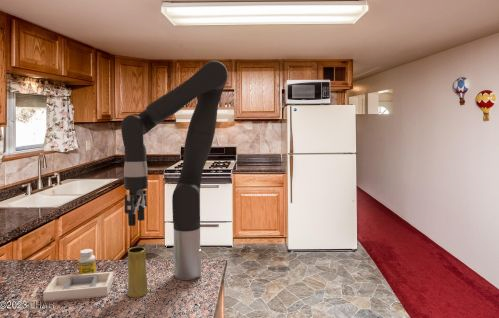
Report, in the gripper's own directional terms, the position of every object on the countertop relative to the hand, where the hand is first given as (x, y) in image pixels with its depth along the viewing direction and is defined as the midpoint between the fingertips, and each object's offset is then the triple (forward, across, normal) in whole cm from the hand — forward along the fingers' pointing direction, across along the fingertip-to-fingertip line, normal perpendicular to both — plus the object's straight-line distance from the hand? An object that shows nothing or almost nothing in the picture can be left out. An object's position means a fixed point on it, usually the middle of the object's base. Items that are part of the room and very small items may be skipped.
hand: (136, 222), depth 116 cm
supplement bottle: (+20, +3, +18) cm, 27 cm away
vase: (+21, -7, -3) cm, 22 cm away
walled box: (+20, -7, +16) cm, 27 cm away
